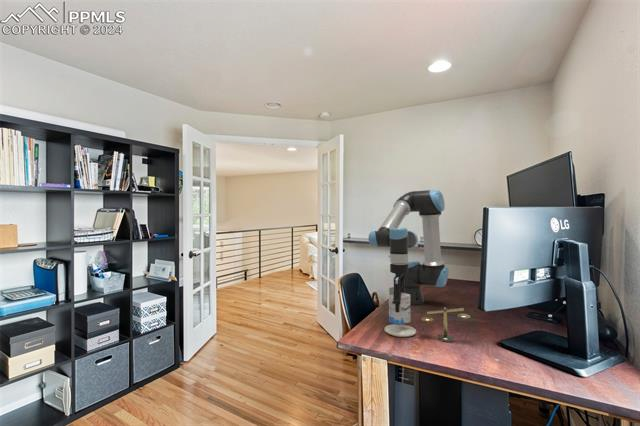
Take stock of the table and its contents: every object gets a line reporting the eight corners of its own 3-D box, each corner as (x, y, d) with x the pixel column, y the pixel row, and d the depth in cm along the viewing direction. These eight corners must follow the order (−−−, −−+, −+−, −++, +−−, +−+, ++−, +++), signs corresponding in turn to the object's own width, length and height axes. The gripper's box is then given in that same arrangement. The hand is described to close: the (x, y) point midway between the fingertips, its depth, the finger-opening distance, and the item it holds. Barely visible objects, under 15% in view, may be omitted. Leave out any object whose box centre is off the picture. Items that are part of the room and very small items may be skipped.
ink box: (397, 325, 124) (396, 289, 125) (388, 322, 128) (388, 287, 129) (411, 321, 129) (410, 287, 129) (402, 318, 133) (401, 285, 134)
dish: (387, 325, 137) (387, 322, 137) (417, 329, 132) (417, 326, 132) (381, 335, 125) (381, 332, 125) (414, 340, 120) (414, 337, 120)
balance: (422, 333, 127) (422, 302, 127) (470, 339, 120) (469, 307, 120) (421, 338, 121) (420, 306, 122) (471, 345, 114) (470, 311, 115)
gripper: (394, 260, 141) (395, 308, 140) (385, 266, 121) (385, 322, 120) (411, 260, 138) (412, 309, 137) (404, 267, 118) (405, 325, 117)
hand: (399, 315), depth 129 cm, fingers closed on ink box, 9 cm apart
